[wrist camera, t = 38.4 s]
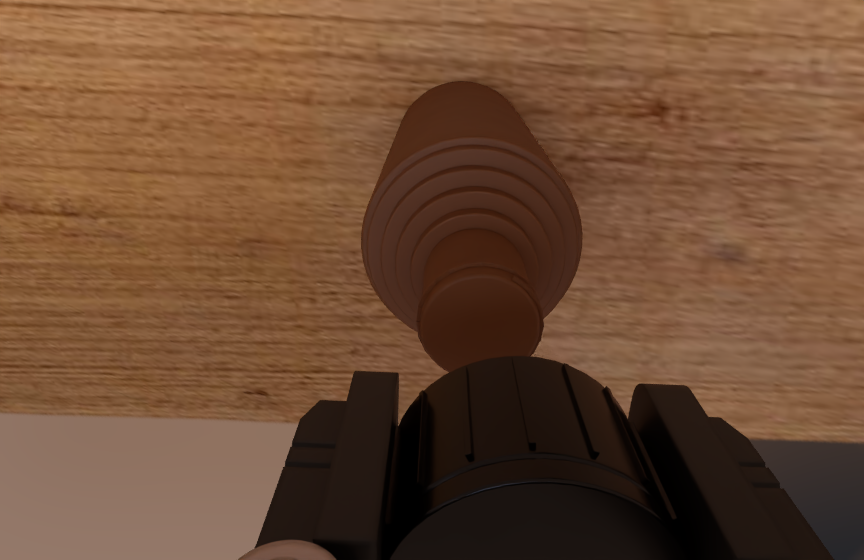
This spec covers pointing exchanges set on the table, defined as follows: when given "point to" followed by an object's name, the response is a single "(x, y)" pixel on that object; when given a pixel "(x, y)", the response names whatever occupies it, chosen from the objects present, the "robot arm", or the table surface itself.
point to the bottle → (470, 228)
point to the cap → (524, 471)
